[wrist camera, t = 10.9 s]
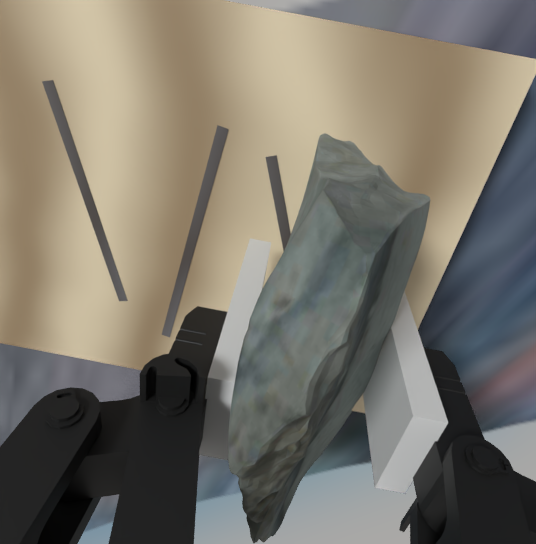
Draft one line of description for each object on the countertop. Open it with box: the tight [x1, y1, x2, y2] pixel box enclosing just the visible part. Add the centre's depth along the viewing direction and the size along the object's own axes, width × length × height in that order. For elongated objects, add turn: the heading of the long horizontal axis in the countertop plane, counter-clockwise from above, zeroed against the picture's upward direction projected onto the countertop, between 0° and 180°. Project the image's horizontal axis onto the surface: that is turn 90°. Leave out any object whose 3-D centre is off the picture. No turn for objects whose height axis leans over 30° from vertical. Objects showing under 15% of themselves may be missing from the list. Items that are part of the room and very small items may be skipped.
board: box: [0, 0, 536, 413], centre depth 17 cm, size 22×16×2 cm
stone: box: [228, 133, 430, 543], centre depth 12 cm, size 11×4×10 cm, turn 171°
